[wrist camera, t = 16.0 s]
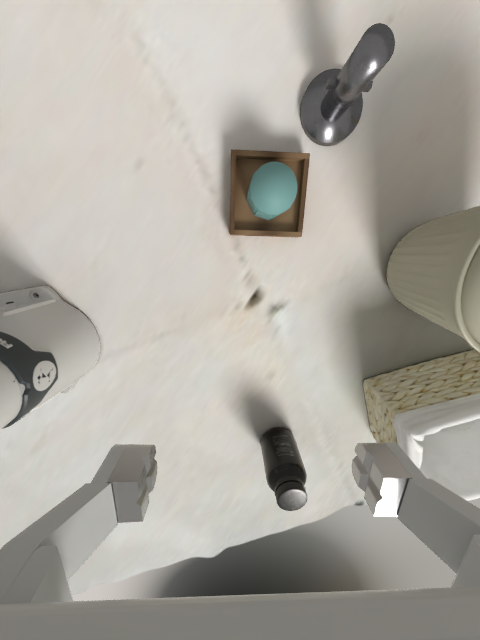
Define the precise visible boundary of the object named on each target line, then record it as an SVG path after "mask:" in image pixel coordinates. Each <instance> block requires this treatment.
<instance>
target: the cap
mask: <svg viewBox="0 0 480 640" xmlns="http://www.w3.org/2000/svg"><path fill="white" fill-rule="evenodd" d="M296 194H297V180H296V177H295V174H294V173H293V171H292V170H291V169H290V168H289V167H288V166H287V165H285V164H283V163H281V162H269V163H266V164H264V165H262V166H261V167H260V168H259V169H258V170H257V171H255V172H254V173H253V177H252V180H251V183H250V186H249V190H248V193H247V197H246V198H247V199H246V200H247V202H248V205H249V207H250V209H251V211H252V213H253V214H254V216H257V217H260V218H263V219H266V220H271V219H273V218H274V217H276V216H278V215H280V214H282V213H283V212H285V211H287V210H288V209H290V207H291V205H292V203H293V202H294V200H295V198H296Z"/></svg>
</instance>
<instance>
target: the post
mask: <svg viewBox="0 0 480 640" xmlns="http://www.w3.org/2000/svg"><path fill="white" fill-rule="evenodd" d="M394 46H395V40H394V35H393V32H392V30H391V29H390V28H389V27H388V26H387V25H385V24H381V23H378V24H375V25H372V26H371V27H370V28H368V29H367V31H366V32H365V33H364V35H363V37H362V38H361V40H360V41H359V43H358V45H357V46H356V48H355V49H354V51H353V52H352V54H351V56H350V57H349V59H348V60H347V62H346V64H345V65H344V67H343V68H342V70H340V69H330V70H327V71H324V72H322V73H321V74H319V75H318V76H317V77H316V78H315V79H314V80H313V81H312V82H311V83H310V85H309V86H308V88H307V90H306V92H305V94H304V97H303V99H302V103H301V109H300V119H301V124H302V127H303V129H304V132H305V133H306V135H307V136H308V137H309V138H310V139H311V140H312V141H313V142H315V143H316V144H319V145H322V146H331V145H335V144H337V143H339V142H341V141H343V140H344V139H345V138H346V137H347V136H348V135H349V134H350V133H351V132H352V131H353V130H354V128H355V127H356V125H357V124H358V121H359V119H360V116H361V112H362V105H363V99H362V92H368V91H369V90H370V89H371V88H372V82H373V81H372V80H373V79H374V77H375V76H376V75H377V74H378V73H379V72H380V70H381V69H382V68H383V67H384V66H385V64H386V63H387V62H388V61H389V60H390V58H391V56H392V54H393V51H394Z"/></svg>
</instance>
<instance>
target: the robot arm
mask: <svg viewBox="0 0 480 640" xmlns="http://www.w3.org/2000/svg"><path fill="white" fill-rule="evenodd" d="M37 294H38V295H39V297H38V296H37ZM99 355H100V340H99V336H98V334H97V331H96V329H95V327H94V326H93V324H92V323H91V322H90V320H89V319H88V318H87V317H86V316H85V315H84V314H83V313H81V312H80V311H79V310H77V309H76V308H74V307H73V306H71V305H69V304H67V303H66V302H65V301H63V300H62V299H61V297H60V296H59V295H58V294H57V293H56V292H55V291H54V290H53V289H52V288H51V287H49V286H38V287H32V288H26V289H20V290H15V291H9V292H3V293H0V430H1V429H3V428H6V427H9V426H11V425H12V424H14V423H15V422H17V421H18V420H20V419H21V418H23V417H25V416H26V415H27V414H28V413H30V411H32V410H35V409H37V408H39V407H40V406H42V405H43V404H44V403H46V402H47V401H49V400H50V399H52V398H53V397H55V396H56V395H57V394H59V393H67V392H68V391H70V390H71V389H72V388H73V387H74V386H75V384H76V382H77V381H78V379H79V378H81V377H82V376H84V375H85V374H87V373H88V372H89V371H91V370H92V369H93V367H94V366H95V365H96V363H97V361H98V359H99ZM355 452H356V454H357V456H356V457H355V458H354V459H353V461H352V473H353V476H354V479H355V481H356V483H357V485H358V487H360V488H361V489H362V490H363V491H364V492H365V496H364V498H365V500H366V502H367V504H368V506H369V508H370V510H371V511H372V513H373V515H374V516H393V517H396V516H397V518H398V519H399V520H400V521H401V522H402V523H403V524H404V525H405V526H406V527H407V528H408V529H409V530H411V531H412V532H413V533H414V534H415V535H416V536H417V537H418V538H419V539H420V540H421V541H422V542H423V543H425V545H427V546H428V547H429V548H430V549H431V550H432V551H433V552H434V553H435V554H436V555H437V556H438V557H440V559H441V560H443V561H444V562H445V563H446V564H447V565H448V566H449V567H450V568H451V569H452V570H453V571H454V572H455V573H456V575H455V578H454V580H453V582H452V585H451V588H428V589H401V590H374V591H345V592H317V593H289V594H261V595H235V596H208V597H183V598H157V599H155V598H154V599H127V600H103V601H101V600H100V601H73V600H72V596H71V592H70V589H69V585H68V581H69V580H70V579H71V577H72V576H73V575H74V574H75V573H76V572H77V571H78V569H79V568H80V567H81V566H82V565H83V564H84V563H85V561H86V560H87V559H88V558H89V557H90V556H91V555H92V553H93V552H94V551H95V550H96V549H97V548H98V547H99V545H100V544H101V543H102V542H103V541H104V540H105V539H106V537H107V536H108V535H109V534H110V533H111V532H112V530H113V529H114V528H115V527H116V526H117V525H118V523H122V522H140V521H143V519H144V516H145V513H146V510H147V507H148V504H149V495H148V494H149V493H150V492H151V491H152V490H153V488H154V485H155V481H156V475H157V461H156V460H155V459H154V457H155V454H156V449H155V445H133V444H128V445H119V444H115V445H114V446H113V447H112V448H111V450H110V451H109V453H108V455H107V456H106V458H105V460H104V461H103V463H102V465H101V466H100V468H99V470H98V471H97V473H96V475H95V477H94V478H93V480H92V482H91V483H88V484H85V485H84V486H82V487H81V488H80V489H78V490H77V491H76V492H74V493H73V494H72V495H70V496H69V497H68V498H66V499H65V500H64V501H62V502H61V503H60V504H58V505H57V506H56V507H54V508H53V509H52V510H50V511H49V512H48V513H46V514H45V515H44V516H42V517H41V518H40V519H38V520H37V521H36V522H34V523H33V524H32V525H30V526H29V527H28V528H26V529H25V530H24V531H22V532H21V533H20V534H18V535H17V536H16V537H14V538H13V539H12V540H10V541H9V542H8V543H6V544H5V545H4V546H3V547H2V548H1V550H0V640H480V509H479V508H478V507H476V506H474V505H473V504H471V503H469V502H468V501H466V500H465V499H463V498H462V497H460V496H458V495H457V494H455V493H453V492H452V491H450V490H449V489H447V488H445V487H444V486H442V485H441V484H439V483H437V482H436V481H434V480H432V479H427V478H426V477H425V476H424V475H423V473H422V472H421V471H420V470H419V469H418V467H417V466H416V465H415V464H414V463H413V462H412V460H411V459H410V458H409V457H408V456H407V455H406V453H405V452H404V451H403V450H402V449H401V448H400V446H399V445H398V444H396V443H358V444H357V445H356V447H355Z"/></svg>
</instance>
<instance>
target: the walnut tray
mask: <svg viewBox="0 0 480 640" xmlns="http://www.w3.org/2000/svg"><path fill="white" fill-rule="evenodd" d="M309 158H310V153H290V152H270V151H249V150H231V204H230V235H245V236H276V237H302V229H303V219H304V208H305V198H306V188H307V178H308V168H309ZM269 162H281V163H283V164H285V165H287V166H288V167H289V168H290V169H291V170H292V171H293V173H294V174H295V177H296V180H297V194H296V198H295V200H294V202H293V203H292V205H291V207H290V209H288V210H287V211H285V212H283V213H282V214H280V215H278V216H276V217H274V218H273V219H271V220H266V219H263V218H260V217H257V216H254V214H253V213H252V211H251V209H250V207H249V205H248V202H247V200H246V199H247V198H246V197H247V193H248V190H249V186H250V183H251V180H252V177H253V173H254V172H255V171H257V170H258V169H259V168H260V167H261V166H262V165H264V164H266V163H269Z"/></svg>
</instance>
